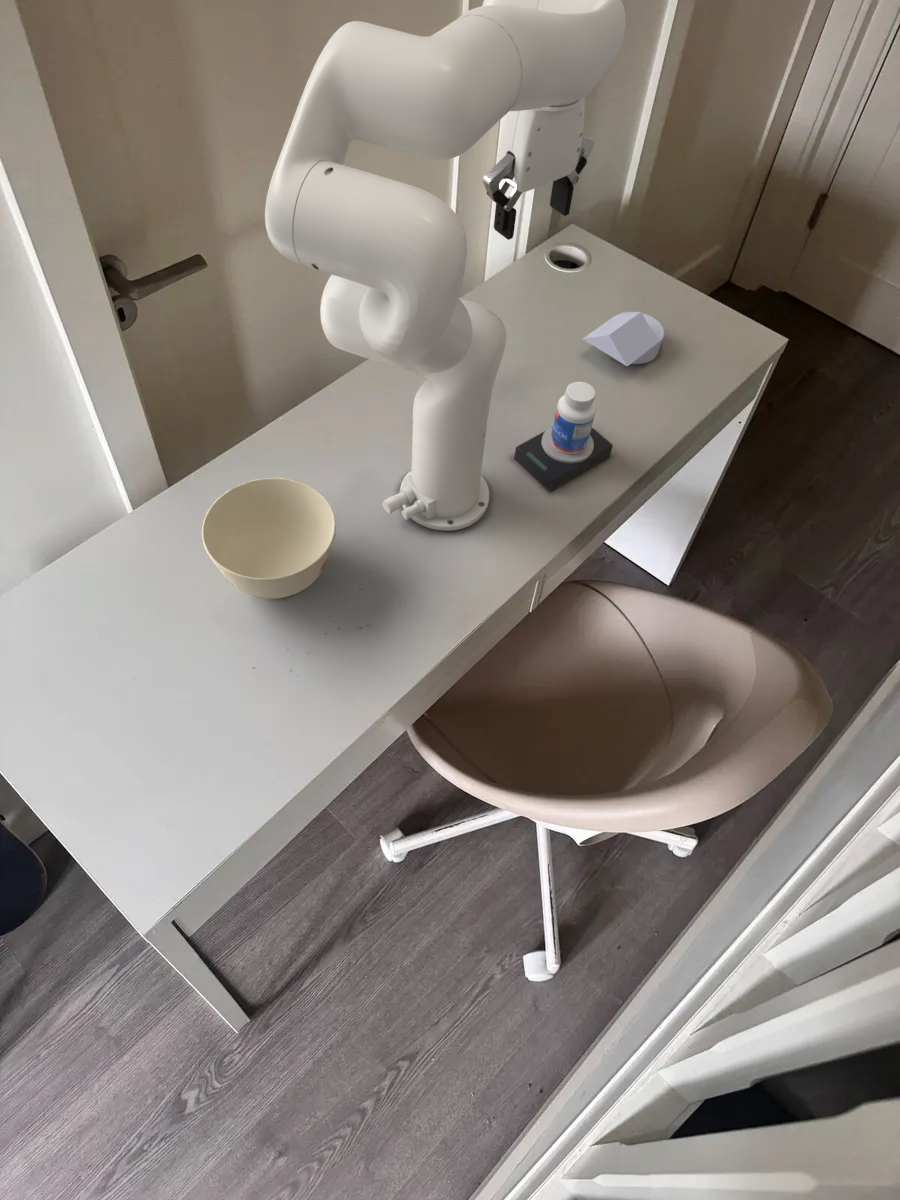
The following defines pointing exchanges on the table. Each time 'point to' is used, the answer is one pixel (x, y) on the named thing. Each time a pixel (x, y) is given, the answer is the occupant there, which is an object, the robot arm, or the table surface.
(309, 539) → the bowl
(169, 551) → the table surface
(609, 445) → the scale
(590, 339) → the wedge on round base
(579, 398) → the pill bottle
